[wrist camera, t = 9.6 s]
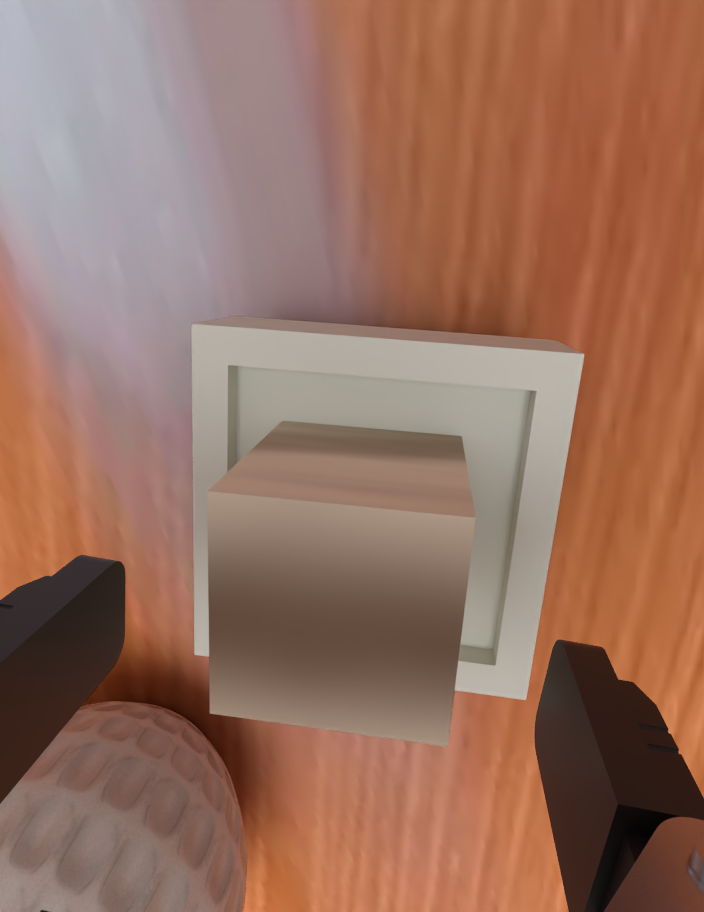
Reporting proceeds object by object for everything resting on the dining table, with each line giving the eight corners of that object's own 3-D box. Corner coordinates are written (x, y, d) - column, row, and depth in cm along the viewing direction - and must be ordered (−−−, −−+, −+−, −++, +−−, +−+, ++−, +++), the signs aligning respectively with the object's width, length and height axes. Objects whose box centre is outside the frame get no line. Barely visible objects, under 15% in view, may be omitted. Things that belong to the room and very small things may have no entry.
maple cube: (282, 420, 17) (207, 491, 12) (461, 436, 17) (475, 517, 11) (278, 580, 19) (210, 713, 13) (443, 599, 18) (447, 746, 12)
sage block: (236, 316, 20) (191, 323, 16) (555, 340, 19) (584, 354, 15) (233, 594, 23) (194, 654, 19) (510, 629, 21) (525, 700, 18)
